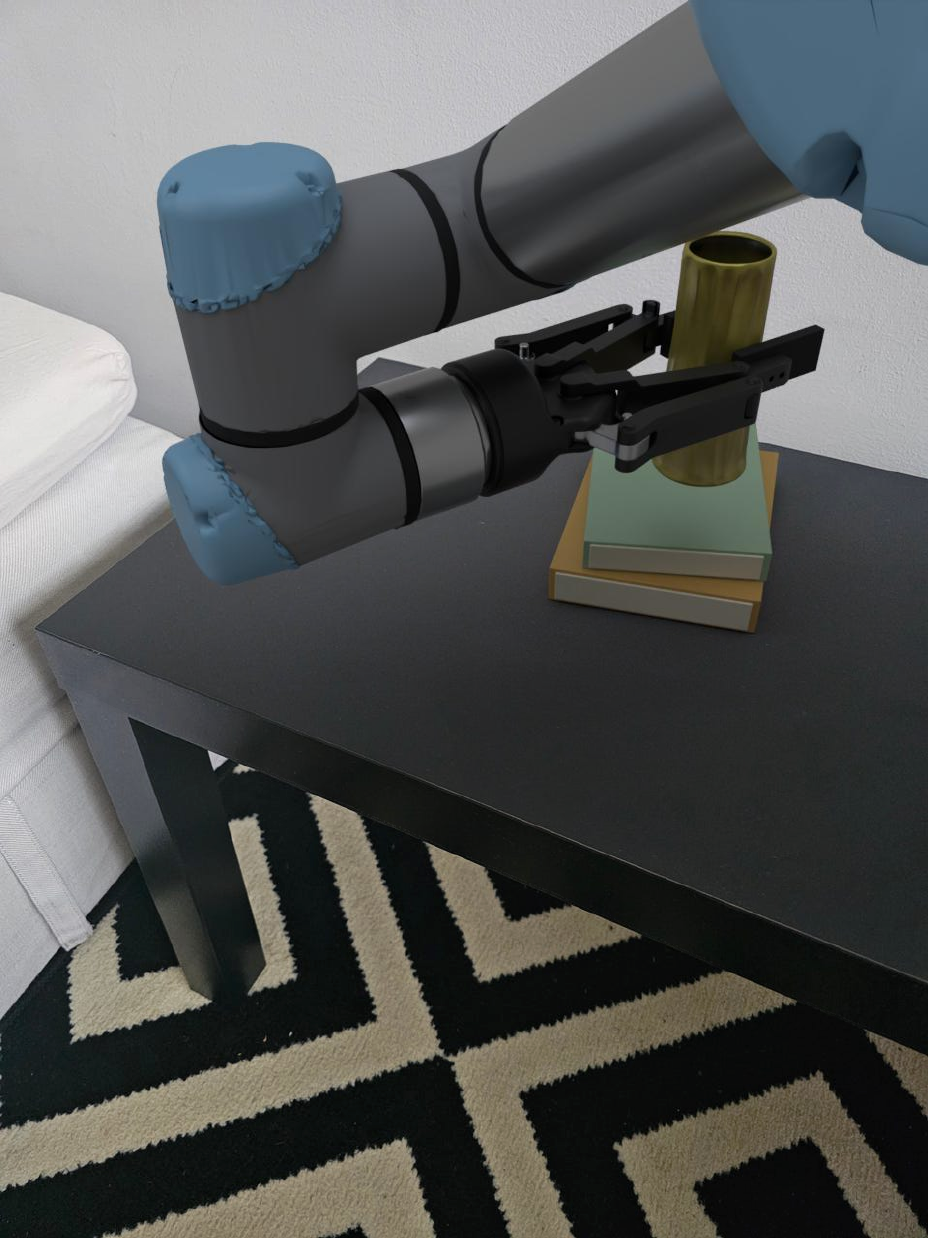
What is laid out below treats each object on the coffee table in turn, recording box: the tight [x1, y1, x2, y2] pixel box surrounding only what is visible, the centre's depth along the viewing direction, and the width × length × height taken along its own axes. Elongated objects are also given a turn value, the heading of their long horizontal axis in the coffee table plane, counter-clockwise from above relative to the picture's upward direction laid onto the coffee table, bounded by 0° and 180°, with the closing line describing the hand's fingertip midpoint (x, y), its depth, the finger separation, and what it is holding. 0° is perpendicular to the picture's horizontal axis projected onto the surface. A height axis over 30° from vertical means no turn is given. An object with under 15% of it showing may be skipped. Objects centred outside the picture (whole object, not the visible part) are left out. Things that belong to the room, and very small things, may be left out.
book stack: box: [548, 421, 780, 634], centre depth 79 cm, size 20×15×6 cm
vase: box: [652, 230, 778, 487], centre depth 61 cm, size 6×6×14 cm
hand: (778, 329), depth 63 cm, fingers closed on vase, 5 cm apart
